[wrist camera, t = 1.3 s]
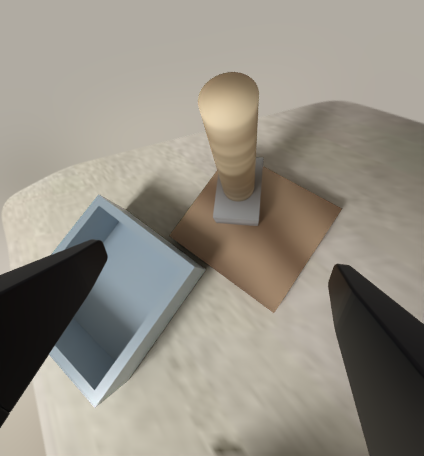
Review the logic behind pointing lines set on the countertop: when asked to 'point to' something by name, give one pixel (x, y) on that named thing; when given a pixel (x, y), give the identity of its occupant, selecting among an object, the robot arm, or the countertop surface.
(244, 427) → the countertop surface
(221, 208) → the rubber stamp
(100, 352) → the box
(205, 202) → the far plate
